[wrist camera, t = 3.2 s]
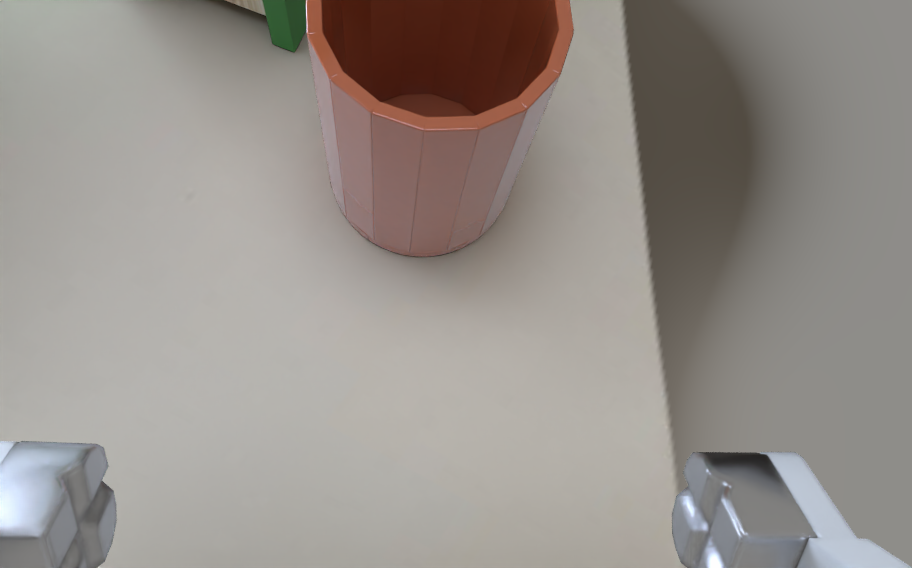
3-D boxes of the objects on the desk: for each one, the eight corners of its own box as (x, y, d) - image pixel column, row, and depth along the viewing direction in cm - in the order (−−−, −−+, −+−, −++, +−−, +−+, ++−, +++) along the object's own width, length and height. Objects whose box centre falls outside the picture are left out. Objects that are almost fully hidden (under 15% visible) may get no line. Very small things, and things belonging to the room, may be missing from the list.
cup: (478, 281, 28) (530, 167, 18) (304, 222, 28) (263, 77, 18) (529, 125, 30) (600, -52, 20) (366, 70, 30) (360, -133, 20)
